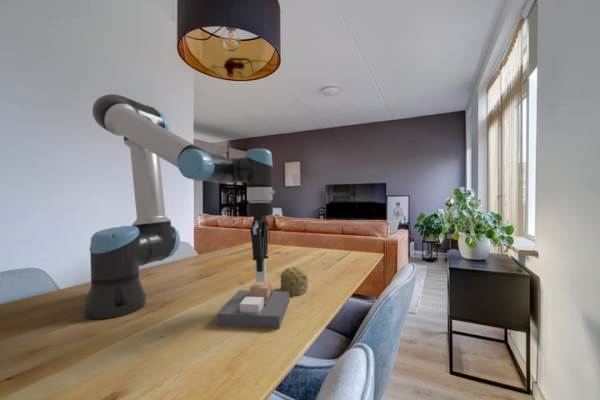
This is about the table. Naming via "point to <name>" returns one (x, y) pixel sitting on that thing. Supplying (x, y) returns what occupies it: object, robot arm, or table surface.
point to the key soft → (252, 305)
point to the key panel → (266, 319)
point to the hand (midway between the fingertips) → (260, 281)
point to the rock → (294, 281)
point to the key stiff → (260, 290)
